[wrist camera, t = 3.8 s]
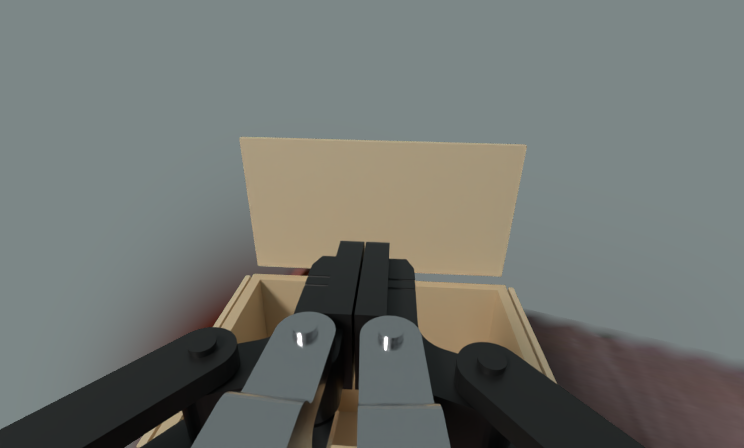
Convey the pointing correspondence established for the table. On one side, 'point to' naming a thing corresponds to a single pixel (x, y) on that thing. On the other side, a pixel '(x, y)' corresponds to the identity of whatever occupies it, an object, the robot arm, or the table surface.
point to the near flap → (383, 200)
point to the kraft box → (435, 321)
